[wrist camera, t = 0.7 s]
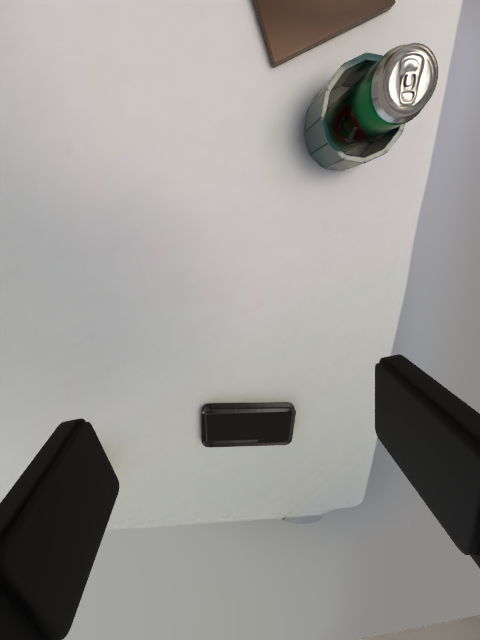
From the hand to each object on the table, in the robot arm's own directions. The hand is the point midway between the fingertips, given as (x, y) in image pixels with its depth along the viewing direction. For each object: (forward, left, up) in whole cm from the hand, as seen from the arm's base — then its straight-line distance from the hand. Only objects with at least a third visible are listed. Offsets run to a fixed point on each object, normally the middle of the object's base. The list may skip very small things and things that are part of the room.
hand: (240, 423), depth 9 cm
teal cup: (-9, +19, -29) cm, 36 cm away
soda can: (-9, +19, -29) cm, 36 cm away
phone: (+25, -7, -29) cm, 39 cm away
